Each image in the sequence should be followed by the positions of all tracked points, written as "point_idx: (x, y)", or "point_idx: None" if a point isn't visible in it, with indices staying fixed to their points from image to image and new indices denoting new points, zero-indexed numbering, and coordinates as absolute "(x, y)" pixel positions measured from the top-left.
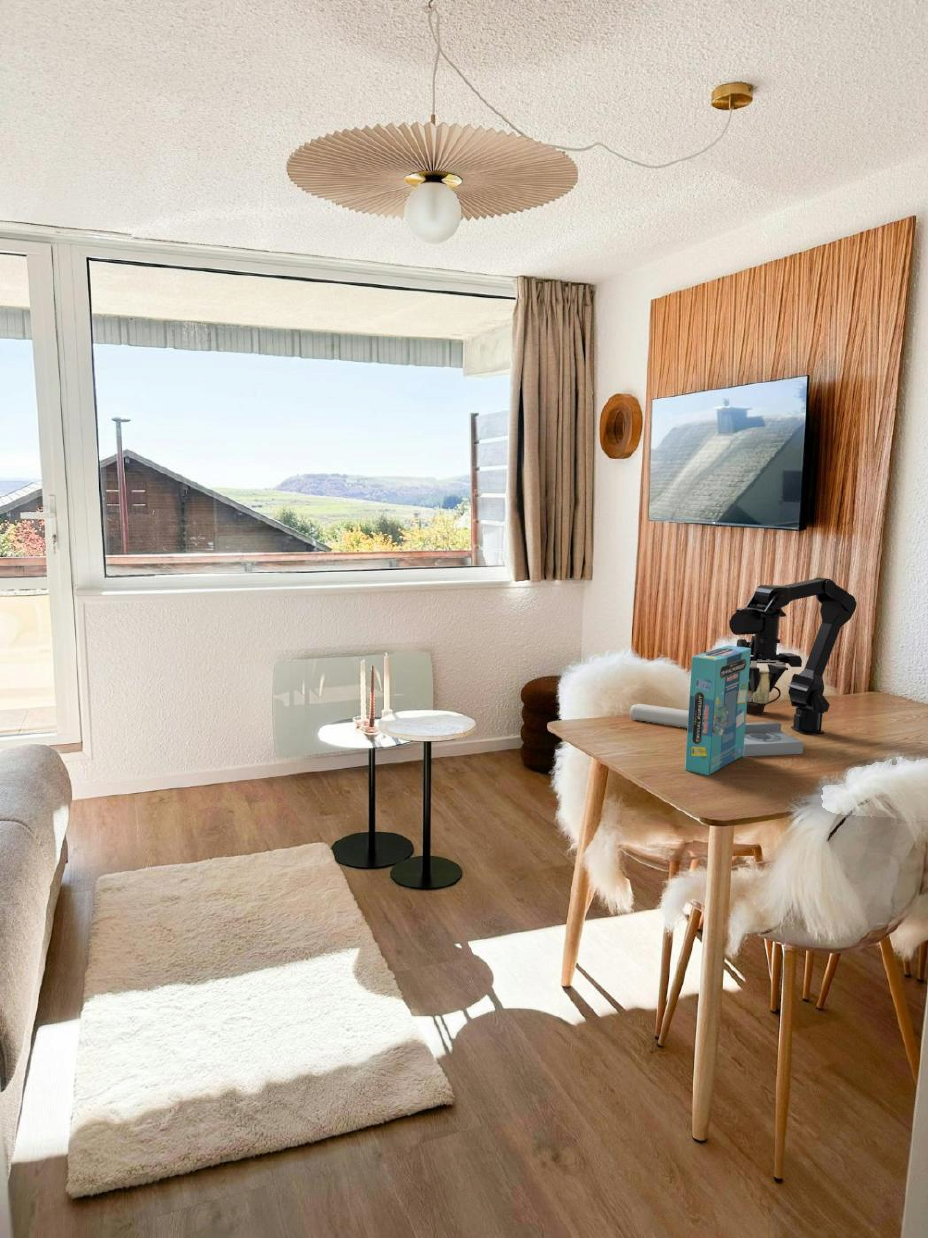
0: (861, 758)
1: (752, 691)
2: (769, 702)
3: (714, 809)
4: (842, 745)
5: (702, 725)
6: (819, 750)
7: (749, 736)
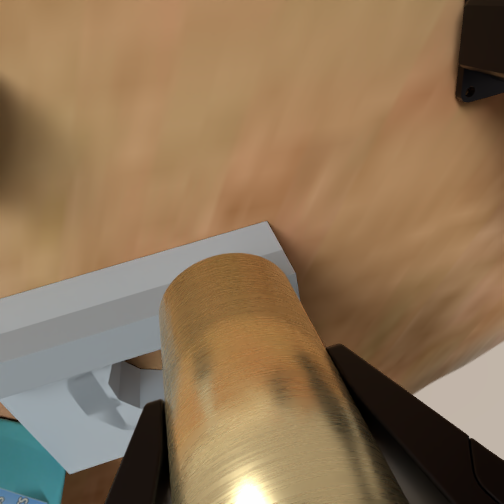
0: (446, 357)
1: (146, 409)
2: None
3: None
4: (494, 242)
5: None
6: (373, 315)
7: (105, 388)
